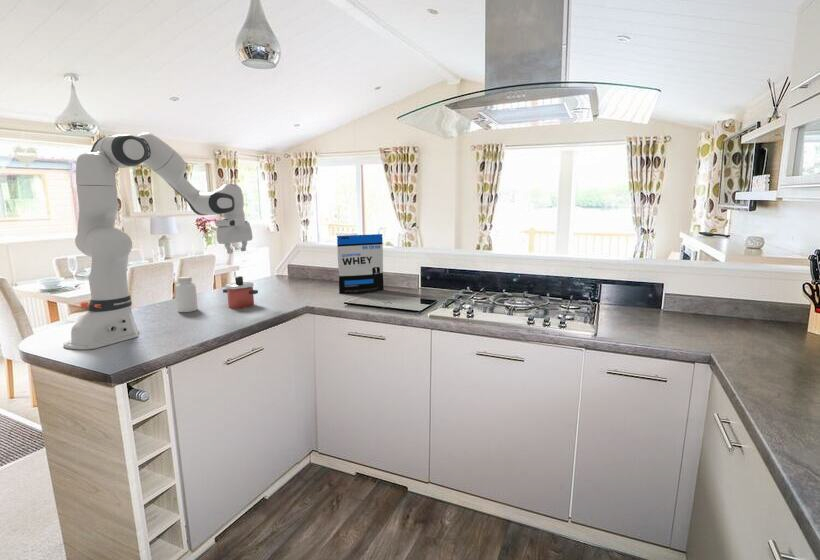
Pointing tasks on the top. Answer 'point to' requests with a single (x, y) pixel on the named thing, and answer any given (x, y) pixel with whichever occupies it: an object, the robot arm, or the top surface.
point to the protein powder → (360, 263)
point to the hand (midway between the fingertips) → (236, 252)
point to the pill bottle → (186, 295)
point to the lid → (239, 284)
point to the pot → (240, 297)
